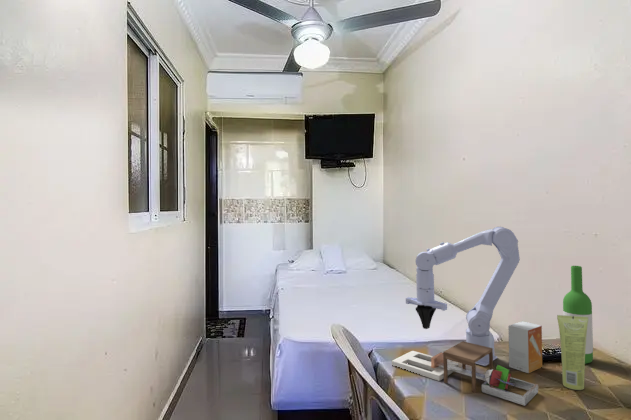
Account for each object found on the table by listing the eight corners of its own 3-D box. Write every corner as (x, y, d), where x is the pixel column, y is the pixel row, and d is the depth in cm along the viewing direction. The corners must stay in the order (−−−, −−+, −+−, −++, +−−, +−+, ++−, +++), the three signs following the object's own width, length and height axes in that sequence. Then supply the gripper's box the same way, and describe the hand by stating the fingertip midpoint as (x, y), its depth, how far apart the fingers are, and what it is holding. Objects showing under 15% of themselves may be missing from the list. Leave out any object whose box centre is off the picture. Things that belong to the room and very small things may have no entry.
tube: (571, 380, 112) (569, 312, 112) (590, 387, 107) (588, 316, 107) (558, 385, 109) (556, 314, 109) (577, 392, 105) (575, 319, 105)
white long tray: (444, 364, 125) (444, 350, 124) (538, 392, 105) (537, 375, 105) (428, 374, 118) (427, 359, 118) (525, 405, 98) (524, 387, 98)
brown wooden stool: (463, 369, 121) (462, 341, 121) (493, 378, 115) (492, 348, 115) (444, 382, 113) (443, 351, 113) (474, 392, 106) (474, 360, 106)
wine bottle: (564, 353, 132) (562, 263, 131) (593, 358, 127) (591, 265, 127) (563, 361, 125) (561, 267, 125) (593, 366, 121) (591, 268, 121)
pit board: (412, 354, 134) (412, 350, 134) (458, 368, 122) (458, 363, 122) (391, 365, 126) (391, 360, 126) (439, 380, 114) (439, 375, 114)
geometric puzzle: (505, 374, 112) (491, 355, 110) (525, 384, 106) (511, 363, 104) (489, 394, 110) (475, 374, 108) (509, 405, 104) (494, 384, 102)
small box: (529, 374, 117) (528, 330, 117) (508, 367, 122) (507, 325, 122) (543, 367, 121) (542, 325, 121) (522, 361, 127) (521, 320, 127)
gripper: (400, 286, 135) (401, 326, 135) (439, 292, 125) (440, 335, 125) (411, 283, 140) (412, 321, 140) (449, 289, 130) (450, 330, 130)
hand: (426, 328), depth 133 cm, fingers closed
